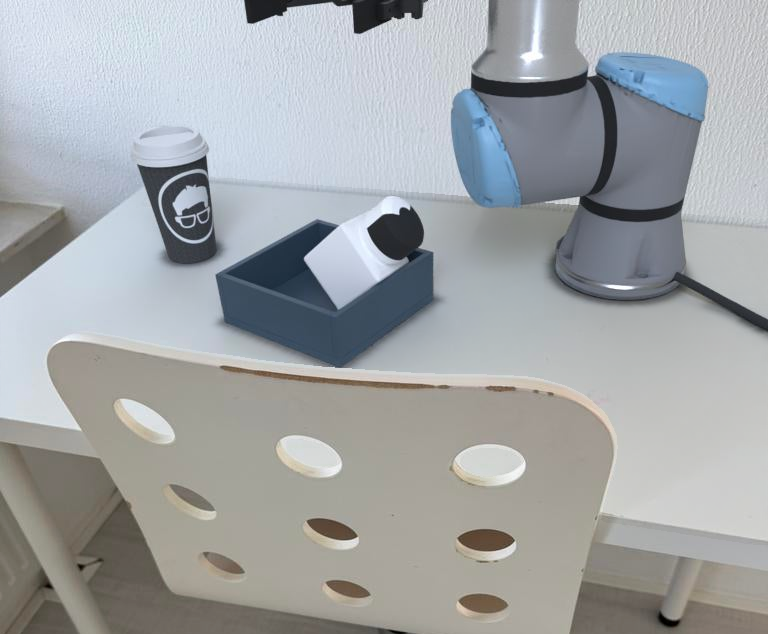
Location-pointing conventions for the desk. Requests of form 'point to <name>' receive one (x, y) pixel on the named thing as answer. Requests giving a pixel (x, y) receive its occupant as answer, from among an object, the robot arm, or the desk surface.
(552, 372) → the desk surface
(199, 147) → the coffee cup
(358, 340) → the bin
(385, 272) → the medicine bottle
